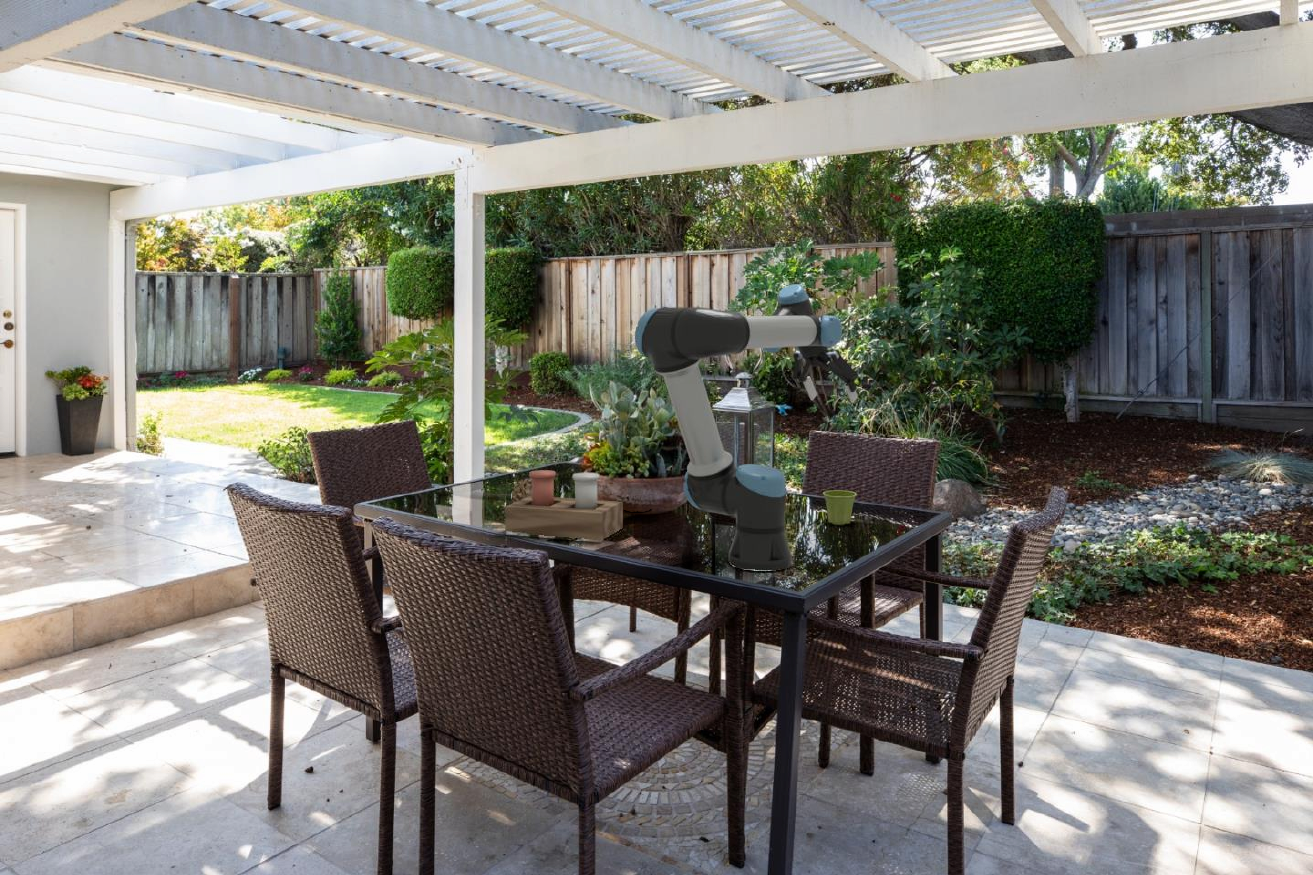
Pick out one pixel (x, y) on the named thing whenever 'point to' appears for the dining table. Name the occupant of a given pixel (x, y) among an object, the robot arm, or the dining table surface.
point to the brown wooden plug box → (565, 519)
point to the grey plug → (586, 490)
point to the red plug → (542, 487)
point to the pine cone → (522, 490)
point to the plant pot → (839, 506)
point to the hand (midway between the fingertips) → (834, 398)
